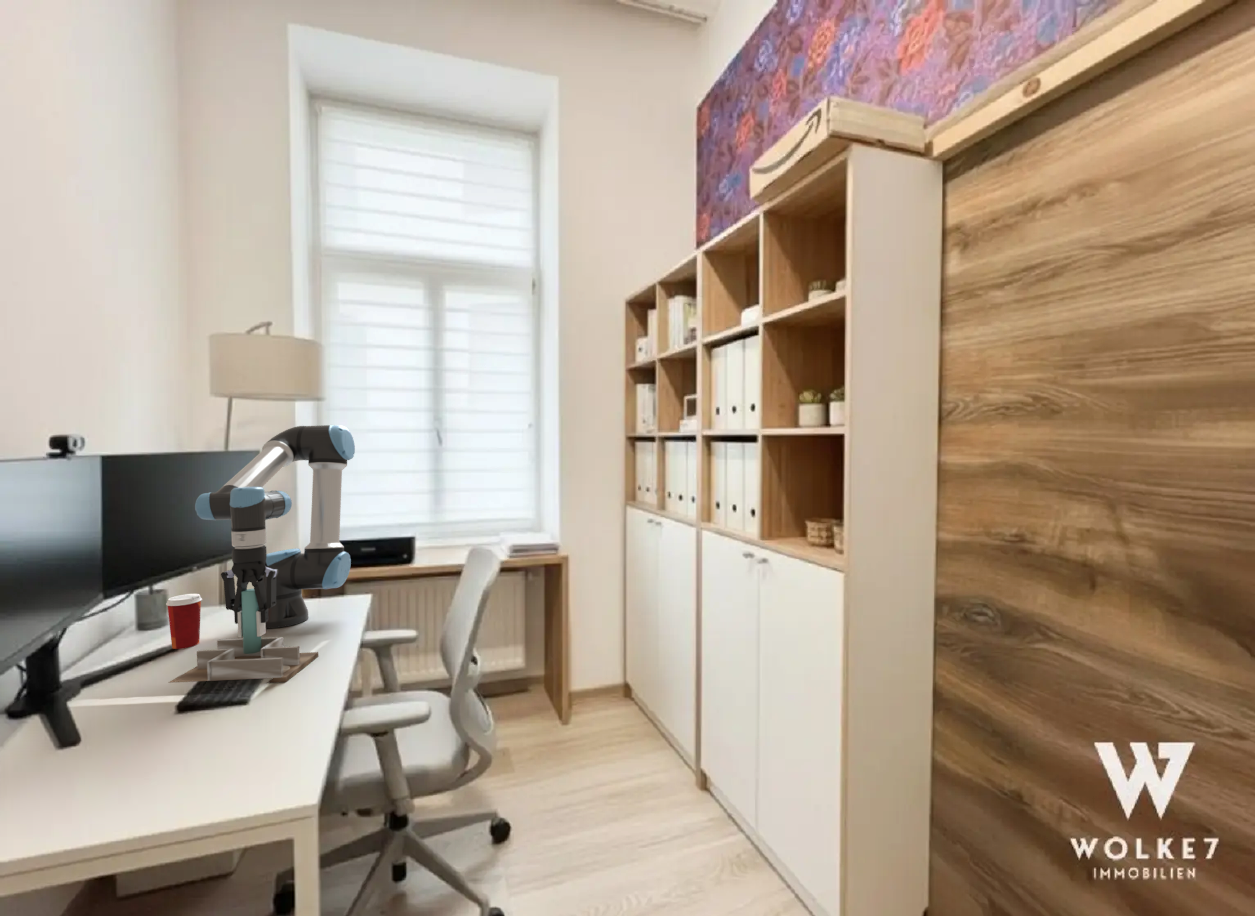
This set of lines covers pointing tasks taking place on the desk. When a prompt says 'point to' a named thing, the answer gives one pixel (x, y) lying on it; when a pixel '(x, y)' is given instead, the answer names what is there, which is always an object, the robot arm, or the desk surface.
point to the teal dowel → (250, 622)
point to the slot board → (248, 662)
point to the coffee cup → (184, 620)
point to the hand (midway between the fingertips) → (252, 635)
